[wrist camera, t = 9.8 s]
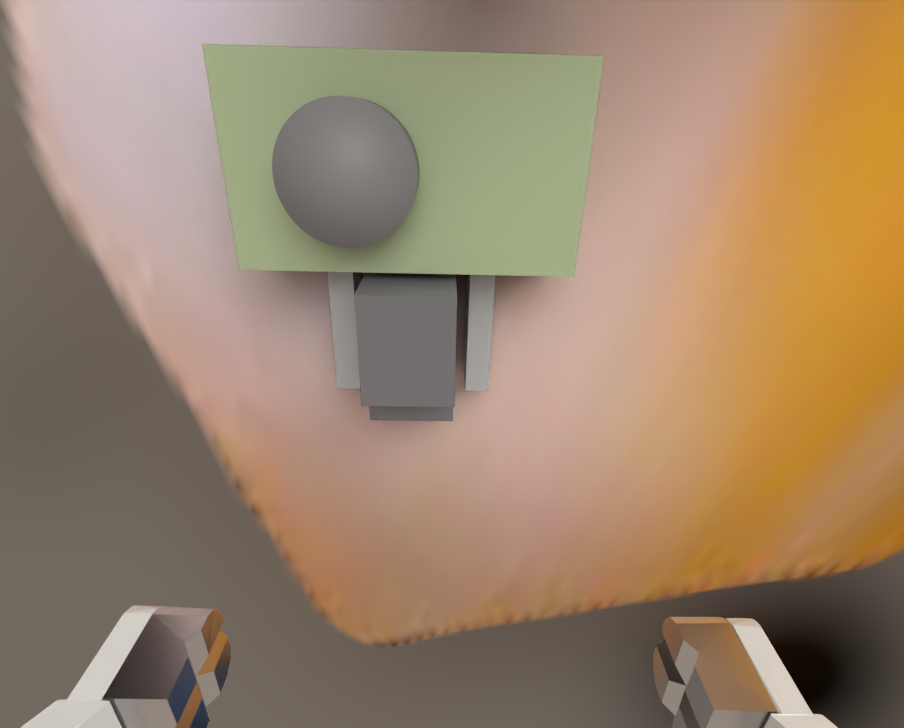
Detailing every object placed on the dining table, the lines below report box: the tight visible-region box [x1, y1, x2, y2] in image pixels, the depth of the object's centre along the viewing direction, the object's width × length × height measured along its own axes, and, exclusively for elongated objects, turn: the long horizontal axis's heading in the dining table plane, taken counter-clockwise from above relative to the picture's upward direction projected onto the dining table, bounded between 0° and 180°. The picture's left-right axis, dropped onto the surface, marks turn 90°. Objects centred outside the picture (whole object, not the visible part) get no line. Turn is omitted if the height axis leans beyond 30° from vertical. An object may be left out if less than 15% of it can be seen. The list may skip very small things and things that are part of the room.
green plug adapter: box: [202, 44, 604, 391], centre depth 22 cm, size 14×15×7 cm
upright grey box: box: [354, 273, 457, 421], centre depth 25 cm, size 4×7×7 cm, turn 179°
